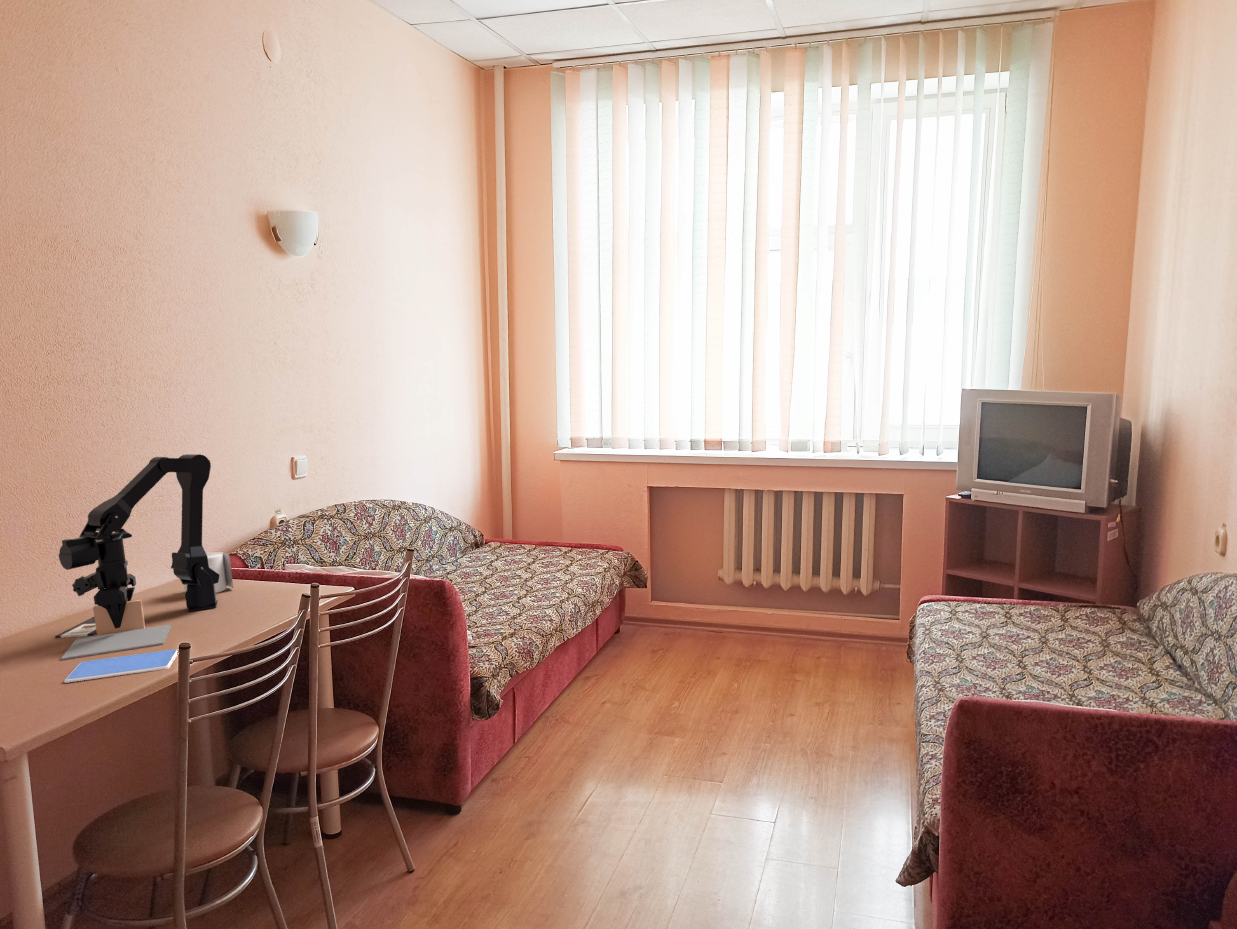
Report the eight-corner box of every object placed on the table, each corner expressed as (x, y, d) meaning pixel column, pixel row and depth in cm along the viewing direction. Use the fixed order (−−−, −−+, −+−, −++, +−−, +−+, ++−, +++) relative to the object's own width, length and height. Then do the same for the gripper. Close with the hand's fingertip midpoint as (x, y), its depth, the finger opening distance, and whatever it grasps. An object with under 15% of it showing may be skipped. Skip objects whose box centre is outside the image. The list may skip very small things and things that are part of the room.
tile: (145, 627, 219) (141, 599, 218) (144, 629, 217) (140, 600, 217) (98, 634, 216) (94, 605, 215) (97, 636, 214) (93, 607, 213)
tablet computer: (180, 653, 198) (179, 647, 198) (169, 671, 186) (168, 665, 186) (81, 667, 193) (80, 661, 193) (63, 686, 181) (62, 680, 181)
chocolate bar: (133, 611, 232) (92, 633, 214) (133, 615, 232) (93, 637, 215) (98, 614, 232) (55, 636, 215) (99, 617, 233) (55, 639, 215)
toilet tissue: (184, 591, 254) (179, 556, 253) (230, 583, 260) (226, 549, 258) (186, 599, 245) (181, 562, 243) (233, 591, 250) (229, 555, 249)
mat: (171, 625, 218) (171, 624, 218) (163, 644, 203) (163, 642, 203) (76, 640, 212) (76, 638, 212) (61, 660, 197) (61, 658, 197)
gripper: (81, 557, 220) (89, 619, 222) (64, 572, 203) (73, 640, 205) (132, 550, 224) (140, 612, 226) (119, 565, 207) (128, 632, 209)
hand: (120, 623), depth 216 cm, fingers open, 7 cm apart
